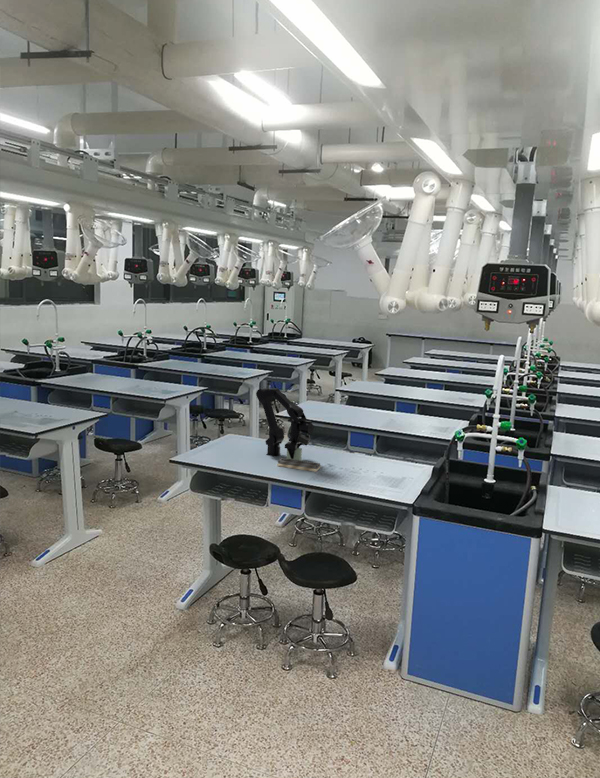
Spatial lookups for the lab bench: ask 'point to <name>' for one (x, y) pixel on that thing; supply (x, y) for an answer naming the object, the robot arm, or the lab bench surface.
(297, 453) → the door panel
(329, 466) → the lab bench surface
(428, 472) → the lab bench surface
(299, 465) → the track
